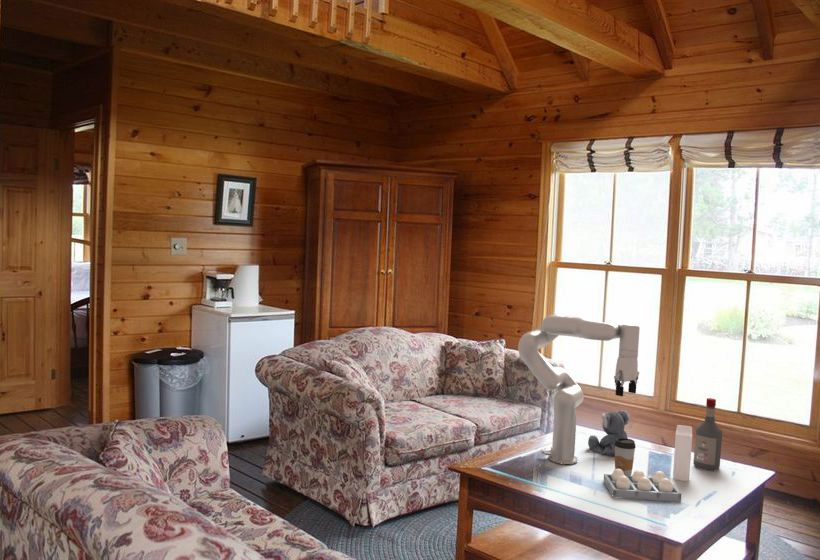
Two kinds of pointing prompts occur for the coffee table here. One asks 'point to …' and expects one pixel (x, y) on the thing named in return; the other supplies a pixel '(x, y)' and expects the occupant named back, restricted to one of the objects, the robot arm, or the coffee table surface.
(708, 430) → the liquor
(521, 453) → the coffee table surface
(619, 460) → the coffee cup
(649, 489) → the carton
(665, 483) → the egg
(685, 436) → the milk
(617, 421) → the koala plush
